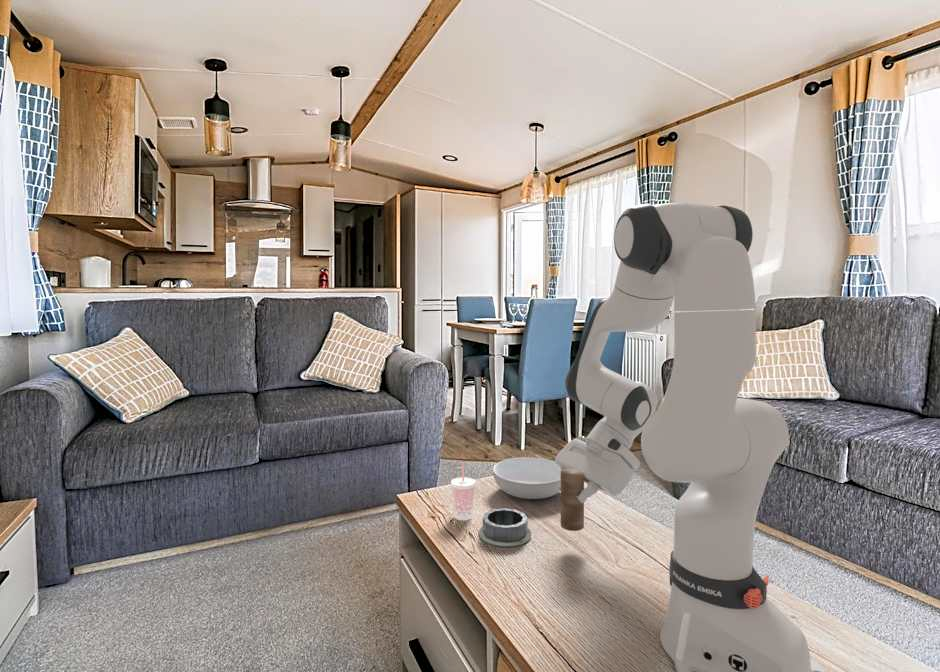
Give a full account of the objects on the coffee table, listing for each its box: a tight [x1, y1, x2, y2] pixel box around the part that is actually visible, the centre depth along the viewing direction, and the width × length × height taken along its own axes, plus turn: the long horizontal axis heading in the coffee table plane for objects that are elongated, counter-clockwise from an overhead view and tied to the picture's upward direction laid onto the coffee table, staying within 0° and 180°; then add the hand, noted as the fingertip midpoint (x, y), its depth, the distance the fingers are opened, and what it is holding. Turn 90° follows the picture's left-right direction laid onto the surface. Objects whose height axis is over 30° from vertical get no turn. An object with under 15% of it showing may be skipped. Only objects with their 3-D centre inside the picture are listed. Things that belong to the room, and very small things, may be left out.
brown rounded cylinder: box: [560, 468, 585, 532], centre depth 112 cm, size 5×5×12 cm
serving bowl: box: [492, 456, 562, 500], centre depth 144 cm, size 21×21×7 cm
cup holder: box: [478, 507, 532, 548], centre depth 119 cm, size 12×12×4 cm
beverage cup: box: [450, 461, 476, 521], centre depth 128 cm, size 6×6×14 cm
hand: (569, 495), depth 112 cm, fingers closed on brown rounded cylinder, 5 cm apart
